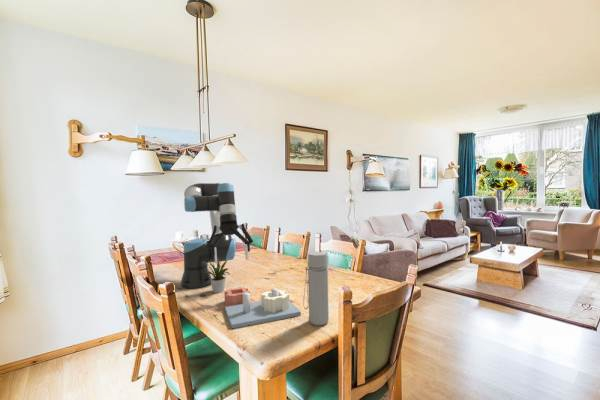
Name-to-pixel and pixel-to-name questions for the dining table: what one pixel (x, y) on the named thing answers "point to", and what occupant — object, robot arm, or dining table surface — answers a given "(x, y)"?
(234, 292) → the gear
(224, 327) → the dining table surface
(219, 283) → the house plant
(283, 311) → the board
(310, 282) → the water bottle
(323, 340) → the dining table surface
